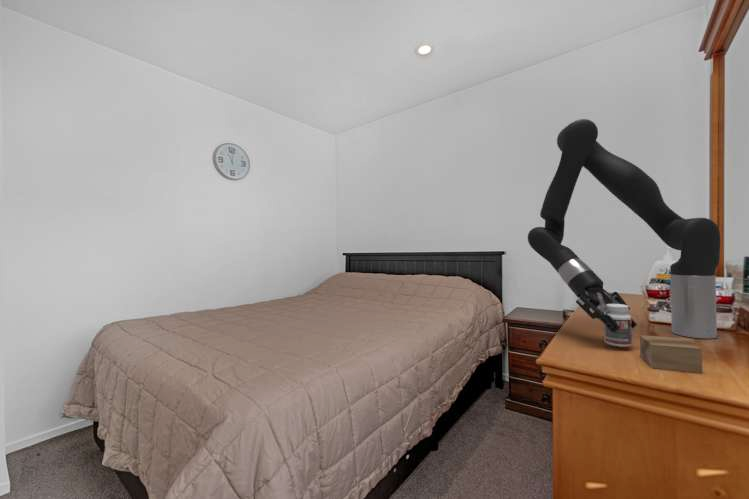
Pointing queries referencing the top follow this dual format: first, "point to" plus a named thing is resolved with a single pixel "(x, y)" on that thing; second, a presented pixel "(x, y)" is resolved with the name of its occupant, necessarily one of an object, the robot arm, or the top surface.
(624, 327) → the pill bottle
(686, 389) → the top surface
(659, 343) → the walnut block
